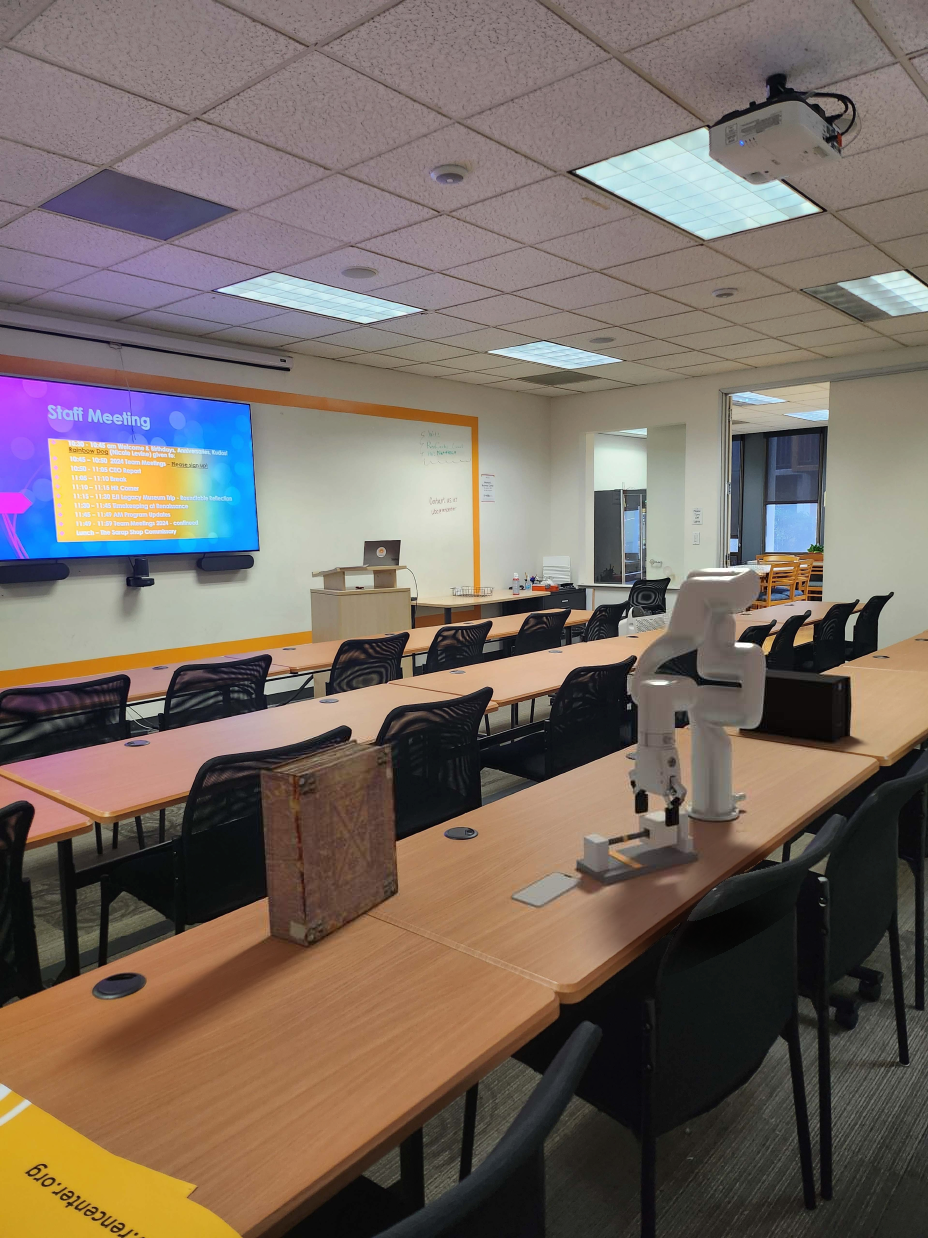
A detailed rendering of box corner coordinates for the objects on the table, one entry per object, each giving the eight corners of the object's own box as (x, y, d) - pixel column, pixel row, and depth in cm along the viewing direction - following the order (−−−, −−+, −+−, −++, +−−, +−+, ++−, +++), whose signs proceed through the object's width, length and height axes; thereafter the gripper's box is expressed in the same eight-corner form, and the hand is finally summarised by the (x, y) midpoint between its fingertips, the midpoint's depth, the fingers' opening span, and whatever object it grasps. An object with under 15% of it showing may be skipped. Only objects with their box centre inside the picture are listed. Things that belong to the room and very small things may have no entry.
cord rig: (666, 844, 178) (665, 802, 178) (698, 859, 170) (697, 815, 169) (576, 867, 168) (575, 823, 167) (605, 884, 159) (604, 837, 158)
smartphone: (508, 896, 154) (554, 871, 165) (508, 900, 154) (554, 874, 166) (539, 907, 149) (584, 880, 160) (539, 910, 150) (585, 883, 161)
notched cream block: (661, 836, 174) (660, 811, 174) (677, 843, 170) (676, 817, 169) (639, 841, 172) (638, 816, 171) (654, 849, 167) (654, 822, 167)
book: (363, 883, 164) (356, 738, 161) (399, 892, 159) (392, 743, 156) (269, 936, 143) (259, 770, 140) (307, 948, 137) (297, 777, 135)
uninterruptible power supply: (831, 744, 258) (831, 683, 256) (733, 730, 282) (733, 673, 280) (851, 735, 269) (851, 676, 267) (755, 721, 293) (755, 667, 291)
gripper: (699, 745, 163) (699, 828, 164) (643, 729, 178) (644, 805, 179) (670, 749, 159) (670, 834, 160) (616, 733, 175) (616, 811, 176)
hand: (656, 819), depth 170 cm, fingers open, 9 cm apart
